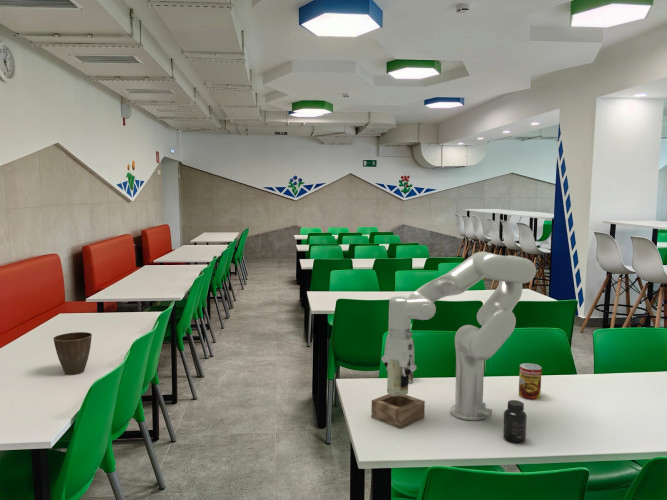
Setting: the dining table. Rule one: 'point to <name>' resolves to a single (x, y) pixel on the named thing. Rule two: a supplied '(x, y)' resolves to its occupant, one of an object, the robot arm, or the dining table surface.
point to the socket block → (398, 410)
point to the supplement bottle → (515, 422)
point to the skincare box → (395, 379)
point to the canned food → (530, 381)
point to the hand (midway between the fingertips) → (397, 383)
